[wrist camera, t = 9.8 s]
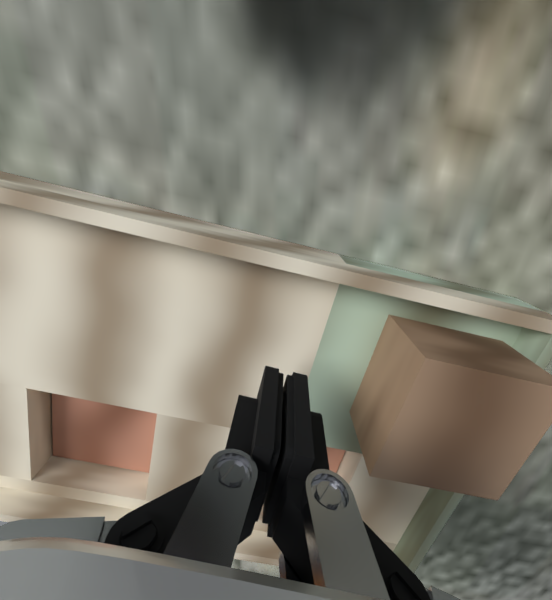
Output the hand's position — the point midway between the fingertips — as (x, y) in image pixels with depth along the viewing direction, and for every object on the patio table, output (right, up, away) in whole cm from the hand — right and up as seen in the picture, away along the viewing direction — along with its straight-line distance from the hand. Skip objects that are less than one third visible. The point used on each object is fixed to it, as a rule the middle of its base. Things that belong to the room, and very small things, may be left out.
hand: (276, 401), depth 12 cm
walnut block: (+8, 0, +4) cm, 9 cm away
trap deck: (-4, -1, +7) cm, 8 cm away
